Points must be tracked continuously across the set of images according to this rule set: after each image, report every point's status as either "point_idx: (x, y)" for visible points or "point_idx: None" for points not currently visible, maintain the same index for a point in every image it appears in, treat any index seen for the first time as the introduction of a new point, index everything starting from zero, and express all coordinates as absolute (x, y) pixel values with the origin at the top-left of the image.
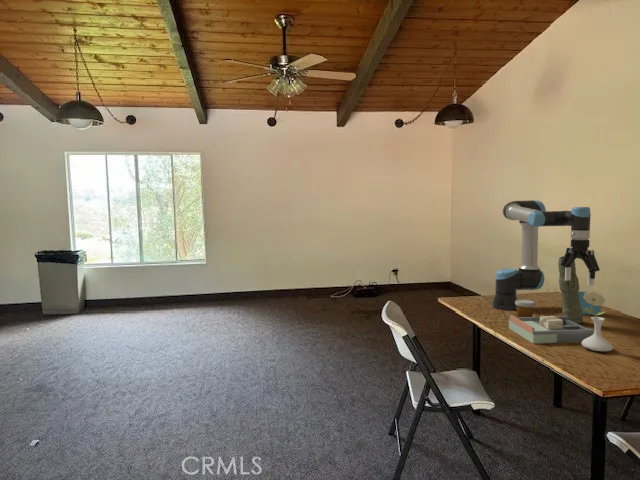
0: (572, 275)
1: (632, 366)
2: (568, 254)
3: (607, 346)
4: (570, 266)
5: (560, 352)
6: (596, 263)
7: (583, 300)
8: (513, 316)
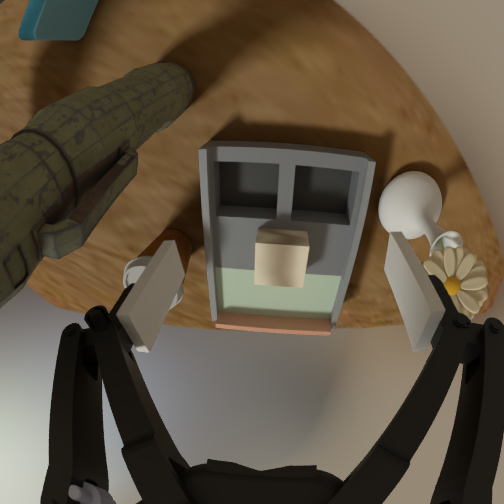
0: (100, 201)
1: (485, 212)
2: (97, 463)
3: (440, 208)
4: (105, 311)
5: (391, 288)
6: (501, 390)
7: (59, 17)
8: (227, 326)
